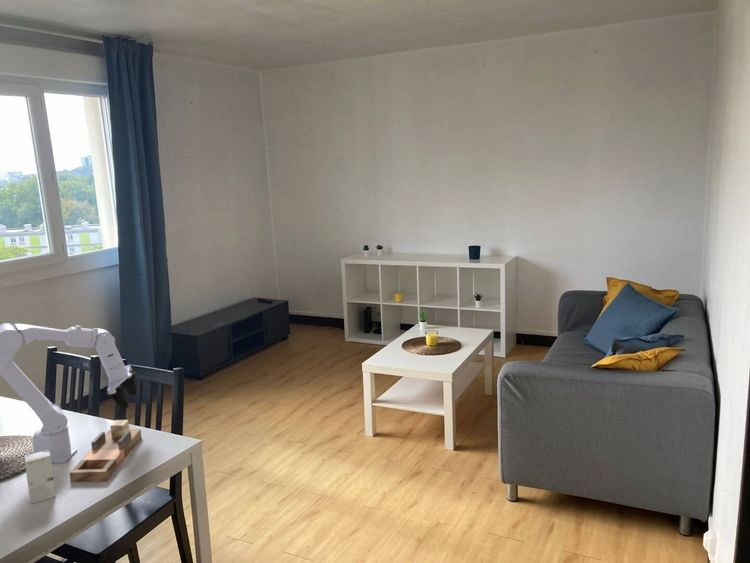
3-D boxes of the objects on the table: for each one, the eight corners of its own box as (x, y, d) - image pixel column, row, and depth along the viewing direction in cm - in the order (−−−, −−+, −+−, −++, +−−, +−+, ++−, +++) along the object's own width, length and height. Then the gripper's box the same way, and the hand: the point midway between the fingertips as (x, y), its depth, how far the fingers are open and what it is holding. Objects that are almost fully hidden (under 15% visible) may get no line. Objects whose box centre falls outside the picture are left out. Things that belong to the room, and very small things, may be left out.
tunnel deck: (70, 482, 167) (68, 464, 166) (110, 438, 193) (108, 422, 192) (106, 481, 167) (104, 463, 166) (141, 437, 193) (139, 421, 192)
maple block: (111, 437, 187) (110, 425, 186) (116, 431, 191) (115, 420, 190) (124, 437, 187) (123, 425, 186) (129, 431, 191) (128, 419, 190)
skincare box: (30, 504, 156) (24, 462, 154) (29, 496, 160) (22, 455, 158) (56, 496, 160) (50, 455, 157) (55, 489, 163) (49, 448, 161)
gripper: (116, 373, 180) (133, 411, 185) (133, 351, 194) (148, 386, 198) (94, 378, 180) (111, 415, 185) (113, 356, 194) (128, 391, 199)
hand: (129, 401), depth 192 cm, fingers open, 7 cm apart
